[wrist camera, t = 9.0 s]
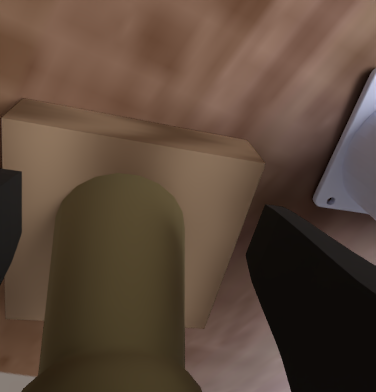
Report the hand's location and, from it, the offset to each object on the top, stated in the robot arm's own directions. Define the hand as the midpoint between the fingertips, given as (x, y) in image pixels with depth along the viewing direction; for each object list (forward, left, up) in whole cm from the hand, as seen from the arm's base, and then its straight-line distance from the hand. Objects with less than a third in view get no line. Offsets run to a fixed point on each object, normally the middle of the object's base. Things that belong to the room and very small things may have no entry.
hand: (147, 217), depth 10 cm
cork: (0, +4, -5) cm, 6 cm away
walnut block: (0, +5, -8) cm, 9 cm away
